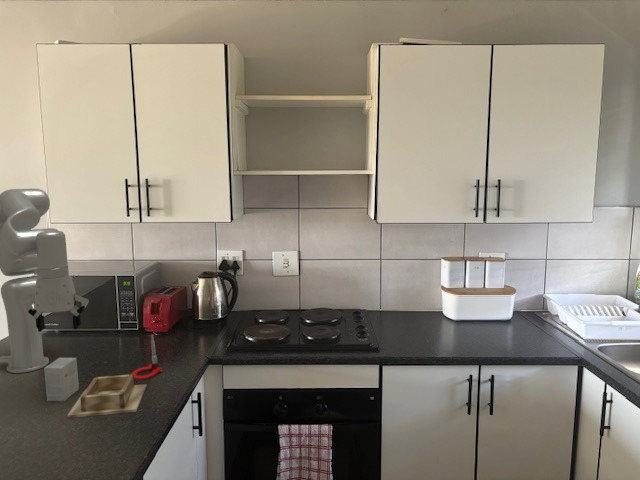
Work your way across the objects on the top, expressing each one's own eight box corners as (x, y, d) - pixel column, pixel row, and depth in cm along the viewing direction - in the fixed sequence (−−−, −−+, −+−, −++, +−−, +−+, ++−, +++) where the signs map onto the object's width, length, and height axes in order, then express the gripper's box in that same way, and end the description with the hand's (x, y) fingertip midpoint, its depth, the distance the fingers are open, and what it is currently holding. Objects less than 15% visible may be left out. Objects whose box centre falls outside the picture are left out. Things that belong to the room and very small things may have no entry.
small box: (62, 389, 145) (59, 357, 144) (79, 389, 145) (76, 357, 143) (46, 401, 137) (43, 367, 136) (64, 401, 137) (61, 367, 135)
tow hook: (140, 383, 150) (165, 372, 157) (136, 345, 147) (161, 336, 155) (126, 377, 154) (150, 366, 162) (121, 340, 152) (146, 331, 160)
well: (67, 418, 127) (65, 401, 127) (85, 391, 143) (84, 376, 142) (136, 411, 131) (135, 395, 130) (146, 386, 146) (145, 371, 145)
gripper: (15, 277, 131) (21, 335, 133) (81, 273, 134) (86, 330, 136) (27, 272, 138) (32, 327, 140) (89, 269, 141) (93, 323, 143)
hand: (59, 329), depth 138 cm, fingers open, 9 cm apart
